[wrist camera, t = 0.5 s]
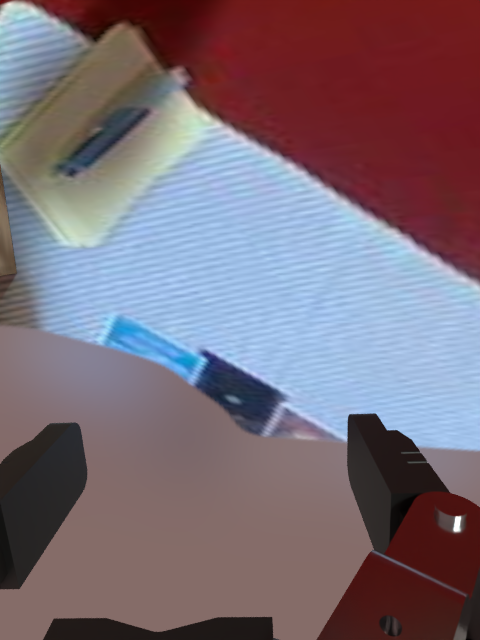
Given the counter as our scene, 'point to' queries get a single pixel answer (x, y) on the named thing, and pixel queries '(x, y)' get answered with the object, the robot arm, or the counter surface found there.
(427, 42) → the counter surface
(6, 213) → the wooden box frame
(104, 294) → the counter surface
